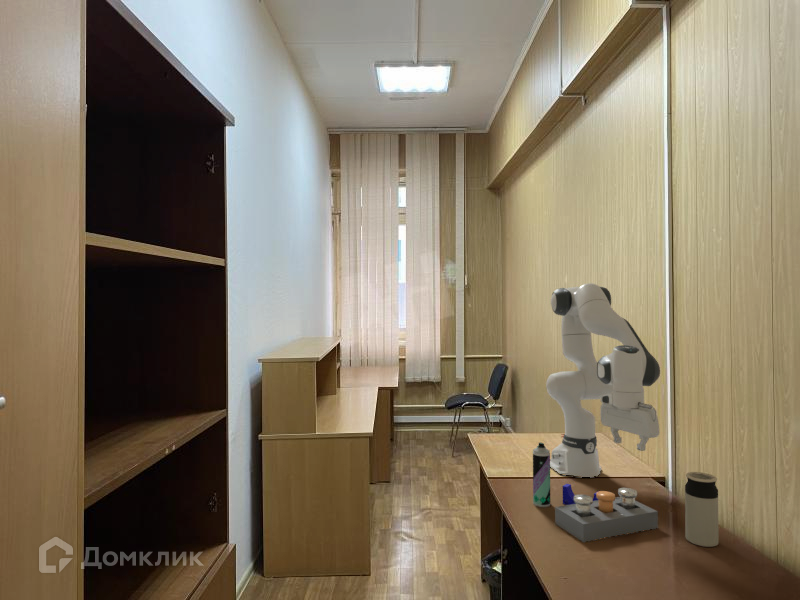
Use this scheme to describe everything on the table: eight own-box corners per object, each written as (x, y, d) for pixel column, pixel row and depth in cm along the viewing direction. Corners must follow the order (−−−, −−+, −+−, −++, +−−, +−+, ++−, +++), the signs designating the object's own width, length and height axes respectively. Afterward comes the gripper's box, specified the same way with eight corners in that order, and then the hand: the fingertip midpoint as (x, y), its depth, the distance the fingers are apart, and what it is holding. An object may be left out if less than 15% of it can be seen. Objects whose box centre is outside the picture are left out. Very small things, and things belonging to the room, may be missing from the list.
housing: (555, 523, 160) (555, 507, 160) (625, 511, 169) (625, 495, 169) (583, 542, 148) (583, 524, 148) (657, 528, 156) (657, 511, 156)
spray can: (529, 502, 177) (529, 441, 177) (543, 499, 179) (542, 440, 179) (540, 508, 172) (539, 446, 172) (554, 505, 174) (553, 444, 174)
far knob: (614, 508, 163) (614, 489, 163) (628, 506, 164) (628, 486, 164) (626, 515, 158) (626, 494, 158) (641, 512, 159) (640, 492, 159)
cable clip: (604, 509, 171) (604, 491, 171) (598, 514, 168) (598, 494, 168) (568, 500, 179) (568, 482, 179) (562, 504, 176) (562, 486, 176)
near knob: (570, 516, 157) (569, 495, 157) (584, 513, 159) (584, 493, 159) (581, 523, 152) (581, 502, 152) (596, 520, 154) (596, 499, 154)
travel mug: (714, 550, 143) (714, 483, 142) (681, 541, 148) (681, 476, 148) (721, 540, 148) (721, 475, 148) (689, 532, 154) (689, 469, 154)
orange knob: (592, 512, 160) (592, 492, 160) (607, 510, 162) (606, 490, 162) (604, 519, 155) (604, 498, 155) (619, 516, 157) (619, 496, 157)
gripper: (664, 404, 153) (665, 453, 152) (612, 394, 172) (613, 438, 171) (647, 406, 150) (648, 456, 150) (596, 396, 170) (597, 440, 169)
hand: (629, 446), depth 161 cm, fingers open, 8 cm apart
